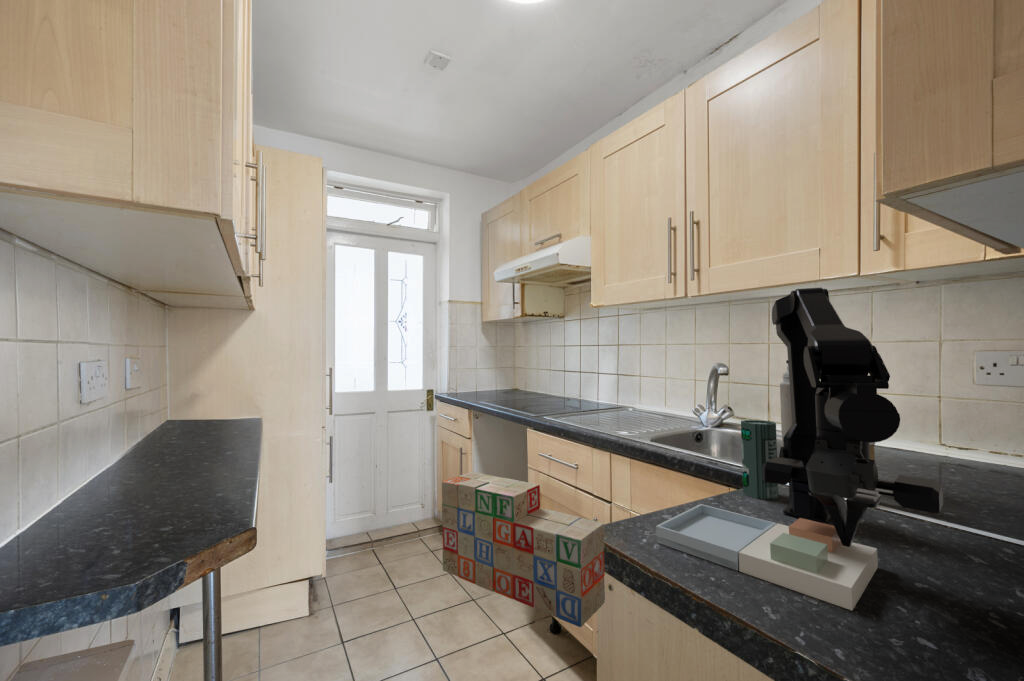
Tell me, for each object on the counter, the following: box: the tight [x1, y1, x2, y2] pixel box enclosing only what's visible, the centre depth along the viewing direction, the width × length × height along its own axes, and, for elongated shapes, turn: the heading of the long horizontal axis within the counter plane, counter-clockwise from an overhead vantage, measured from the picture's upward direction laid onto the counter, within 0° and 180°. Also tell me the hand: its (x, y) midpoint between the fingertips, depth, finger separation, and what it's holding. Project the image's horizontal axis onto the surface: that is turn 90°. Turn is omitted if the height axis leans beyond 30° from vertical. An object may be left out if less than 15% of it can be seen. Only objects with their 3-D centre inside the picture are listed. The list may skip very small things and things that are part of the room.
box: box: [655, 503, 777, 571], centre depth 67 cm, size 15×12×2 cm
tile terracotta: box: [788, 517, 841, 552], centre depth 60 cm, size 5×5×2 cm
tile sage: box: [770, 533, 828, 573], centre depth 55 cm, size 5×5×2 cm
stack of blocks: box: [441, 471, 606, 628], centre depth 54 cm, size 21×6×12 cm, turn 53°
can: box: [740, 419, 779, 501], centre depth 89 cm, size 6×6×15 cm
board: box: [738, 523, 879, 611], centre depth 58 cm, size 15×12×2 cm
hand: (846, 545), depth 58 cm, fingers closed
